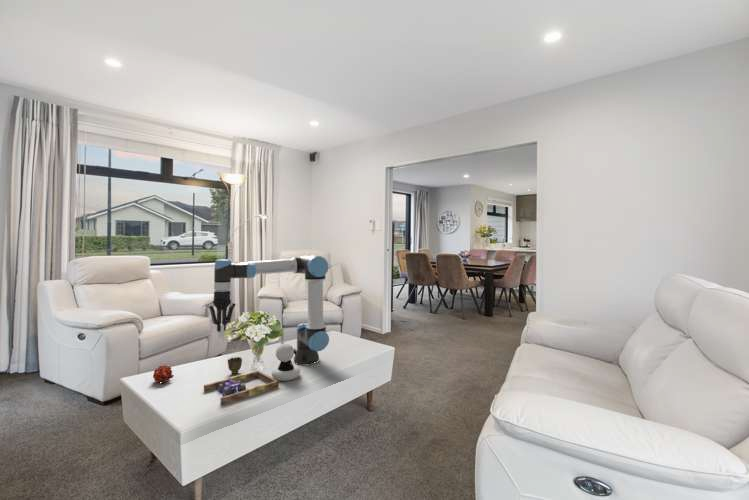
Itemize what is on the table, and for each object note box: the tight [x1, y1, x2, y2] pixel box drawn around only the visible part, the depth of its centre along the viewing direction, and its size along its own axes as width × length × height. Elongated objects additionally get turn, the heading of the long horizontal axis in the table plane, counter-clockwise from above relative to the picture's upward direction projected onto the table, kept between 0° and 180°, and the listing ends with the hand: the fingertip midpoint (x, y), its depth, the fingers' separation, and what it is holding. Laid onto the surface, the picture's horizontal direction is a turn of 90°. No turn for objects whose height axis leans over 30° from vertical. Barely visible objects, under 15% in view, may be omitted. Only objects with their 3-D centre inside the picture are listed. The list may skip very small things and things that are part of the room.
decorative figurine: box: [271, 338, 301, 382], centre depth 187 cm, size 15×15×20 cm
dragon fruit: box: [152, 365, 175, 385], centre depth 178 cm, size 8×8×12 cm
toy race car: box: [217, 380, 247, 397], centre depth 167 cm, size 10×15×6 cm, turn 42°
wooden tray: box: [203, 370, 280, 406], centre depth 170 cm, size 28×20×3 cm
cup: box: [227, 356, 243, 375], centre depth 191 cm, size 8×7×8 cm
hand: (221, 337), depth 174 cm, fingers closed
